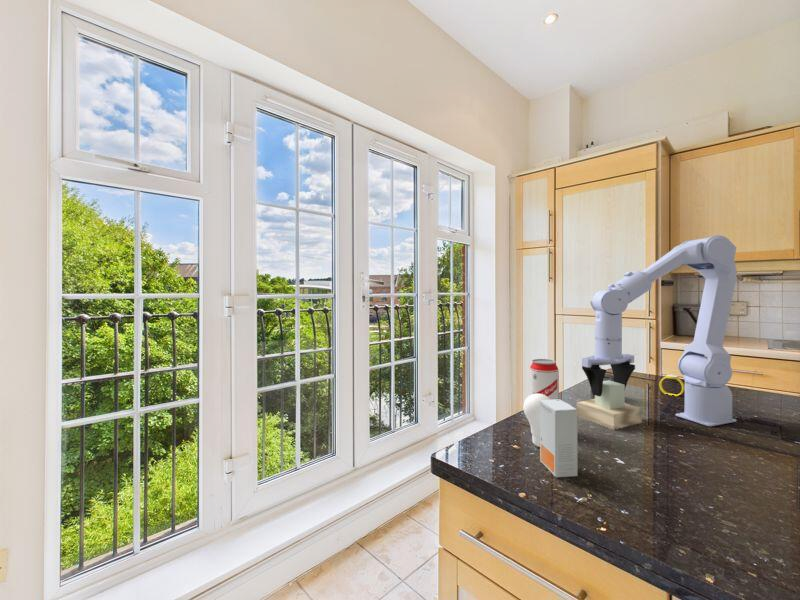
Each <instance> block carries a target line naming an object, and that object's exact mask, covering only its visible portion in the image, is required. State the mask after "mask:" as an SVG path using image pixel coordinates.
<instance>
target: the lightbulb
mask: <svg viewBox="0 0 800 600" xmlns="http://www.w3.org/2000/svg"><path fill="white" fill-rule="evenodd" d="M540 400H551V399H550V398H548V397H547V396H545V395H543V394H532V395H530V394H529V395H528V396H527V397H526V398H525V400H524V403H523V407H522V409H523V412H524V416H525V417H526V419H527V421H528V422H529V425H530V426H529V427H530V434H532V436H531V437H532V438H531V439H532V440H531V441H532V444H534V445H535V446H536V447H538V448H540Z"/></svg>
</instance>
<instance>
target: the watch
mask: <svg viewBox="0 0 800 600" xmlns="http://www.w3.org/2000/svg"><path fill="white" fill-rule="evenodd" d="M665 379H670V380H676V381H678V382H679V384H680V385H681V391H680V392H679V393H678V394H676V393H670V392H667V391H666V390H665V389H664V388H663V381H664V380H665ZM658 383H659V384H658V386H659V387H658V388H659V389H660V391H661V392H662V393H663V394H664V395H666V394H668V395H667V396H672V395H674V396H673V397H678V396H680V395H682V394H683V393H685V382H683V380H682V379H680V378H679V376H678V375H676V374H675V375H674V374H666V375H665V376H663V377H662V378H661V380H660V381H659V382H658Z"/></svg>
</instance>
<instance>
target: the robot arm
mask: <svg viewBox="0 0 800 600" xmlns="http://www.w3.org/2000/svg"><path fill="white" fill-rule="evenodd" d="M736 251H737V246H736V245H735V244H734V243H733V242H732V241H731V240H730V239H729V238H728V237H726V236H724V235H719V234H718V235H712V236H710V237H703V238H697V239H688V240H686V241H684V242H683V241H682V243H681V244H678V245H677V246H676V245H675V246H674V247H672V249H671V250H669V252H667V253H666V254H664V255H662V256H661V257H660V258H659V259H658V260H656V261H655V262H653V263H652V264H651V265H649V266H648V267H646V268H645V269H644V270H642V271H639V270H634V271H633V270H632V271H627V272H625V273H623V276H624V277H622V278H620V279H619V280H617V281H616V282H615V283H609V284H608V285H607V289H602V290H599V291H597V292H595V294H594V295H593V297H592V299H591V301H590V306H591V308H592V309H593V310H594V313H595V314H594V317H595V318H594V319H595V320H594V321H595V324H594V325H595V328H594V331H595V332H594V333H595V334H594V335H595V336H594V339H595V341H594V342H595V344H594V346H595V347H594V348H595V350H594V355H590V356H588V357H581V369H582V370H583V372H584V374H585V376H586V378H587V380H588V382H589V386H590V391H591V390H592V394H593V395H596V396H601V395H602V387H603V379H604V376H605V374H607V369H603V368H602V367H601V366H607V365H608V366H609V365H610V368H611V371H612V375H613V377H614V382H617V383H620V384H624V385H625V389H626V388H627V385H628V382H629V379H630V377H631V375H632V374H633V372H634V371H635V370H636V365H635V364H633V363H635V355H633V354H629V353H623V313H624V312H625V311H626V310H627V308H628V305H629V304H631V302H634V301H635V300H637V299H638V298H640V297H641V296H643V295H644V294H646V293H647V292H649V291H650V290H651V289H652V285H653V282H654V281H656V280H658V279H660V278H662V277H663V276H665V275H667V274H668V273H670V272H672V271H674V270H676V269H677V268H679V267H680V266H683V265H685V266H687V267H689V268H691V269H692V270H695V271H696V272H697V273H699V274H700V275H701V276H702V277H703V278H704V279H705V281H704V286H703V291H702V296H701V302H700V307H699V312H698V316H697V321H696V326H695V332H694V337H693V341H692V342H690V343H689V344H688V345H686V346H685V347H684V350H683V352H682V353H683V354H682V355H681V356H680V357H679V359H678V361H677V369H678V371H679V372H680V374H681V375H682V377H683V381H684V387H685V389H684V408H683V409H684V411H683V412H679V413H678V412H677V413H675V416H676V417H678V418H682V419H684V420H688V421H691V422H694V423H697V424H700V425H702V426H705V427H715V426H720V425H725V424H730V423H736V422H737V419H736V418H733V392H732V390H731V389H730V388H729V387H728V385H727V384H728V383H729V382H730V381H731V379H732V376H733V369H732V366H731V359H732V356H731V355H730V353H728V351H727V350H726V349H725V348H724V342H725V341H724V340H725V335H726V332H727V325H728V322H729V321H728V320H729V317H730V316H729V315H730V312H731V306H732V302H733V296H734V291H735V286H736V281H737V277H738V270H737V266H736V262H735V256H736Z"/></svg>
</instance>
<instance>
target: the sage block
mask: <svg viewBox="0 0 800 600" xmlns="http://www.w3.org/2000/svg"><path fill="white" fill-rule="evenodd" d="M625 393H626V388H625V385H624V384H620V383H617V382H613V381H610V380H608V381H603V387H602V395H601V396H596V395H595V404H597V405H600V406H602V407H605V408H608V409H616V408H623V407H625V403H626V402H625V401H626V396H625V395H626V394H625Z"/></svg>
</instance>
